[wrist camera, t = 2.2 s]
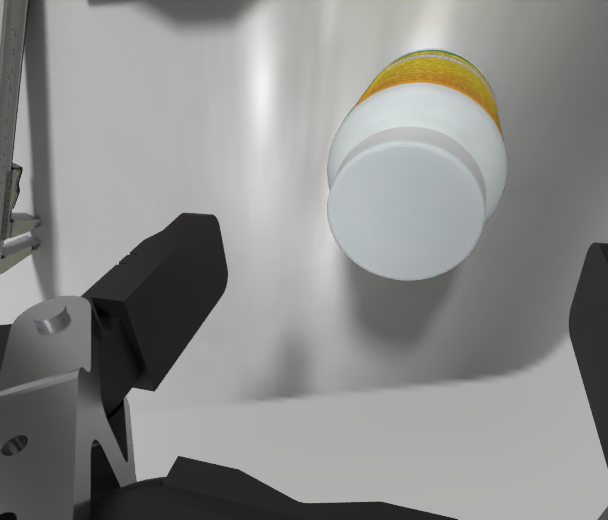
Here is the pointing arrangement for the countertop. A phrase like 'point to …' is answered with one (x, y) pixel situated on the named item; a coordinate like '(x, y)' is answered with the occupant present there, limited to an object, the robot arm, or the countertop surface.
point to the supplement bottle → (417, 167)
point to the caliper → (12, 135)
